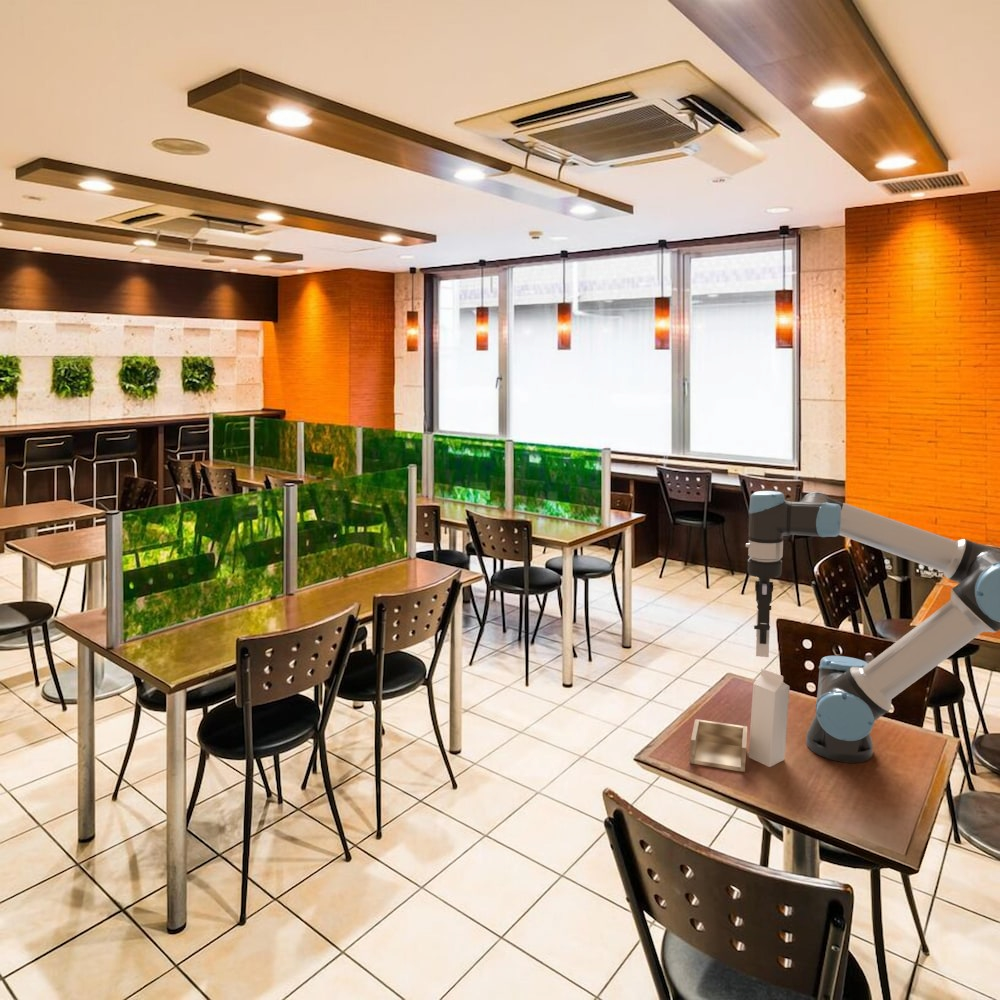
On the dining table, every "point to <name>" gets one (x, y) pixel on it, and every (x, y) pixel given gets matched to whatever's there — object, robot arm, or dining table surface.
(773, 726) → the milk
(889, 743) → the dining table surface
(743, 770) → the u rest
